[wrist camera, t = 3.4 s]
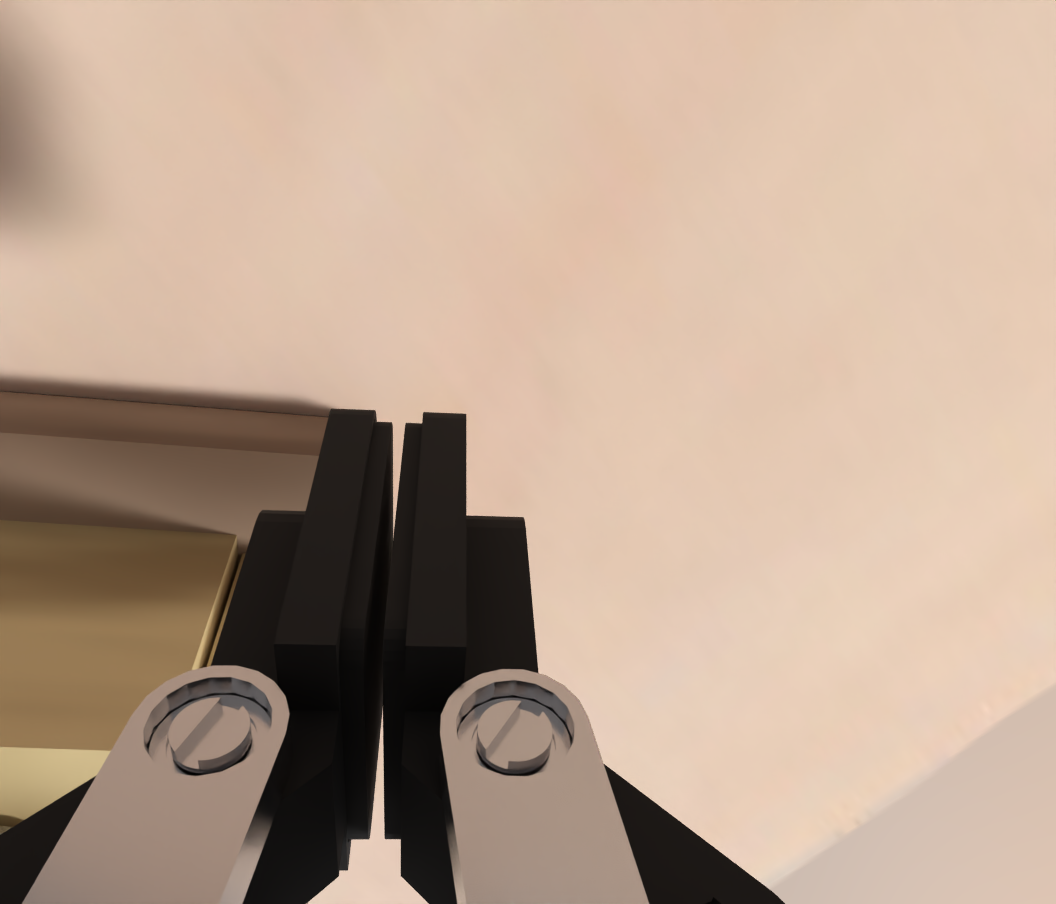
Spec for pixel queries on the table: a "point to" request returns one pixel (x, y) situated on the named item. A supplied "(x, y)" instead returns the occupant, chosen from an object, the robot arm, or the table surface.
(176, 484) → the valve block
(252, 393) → the table surface
